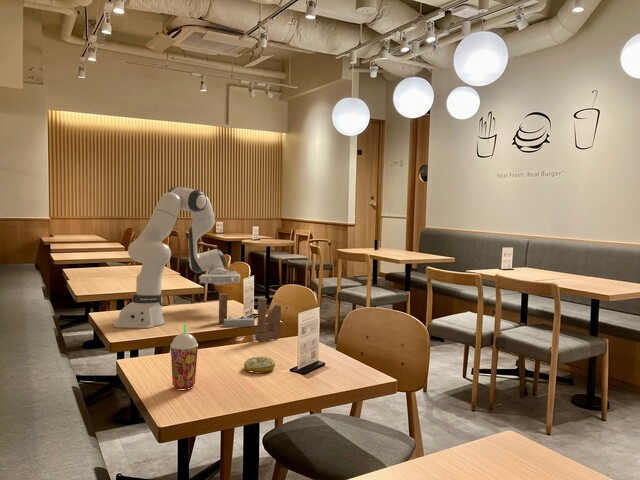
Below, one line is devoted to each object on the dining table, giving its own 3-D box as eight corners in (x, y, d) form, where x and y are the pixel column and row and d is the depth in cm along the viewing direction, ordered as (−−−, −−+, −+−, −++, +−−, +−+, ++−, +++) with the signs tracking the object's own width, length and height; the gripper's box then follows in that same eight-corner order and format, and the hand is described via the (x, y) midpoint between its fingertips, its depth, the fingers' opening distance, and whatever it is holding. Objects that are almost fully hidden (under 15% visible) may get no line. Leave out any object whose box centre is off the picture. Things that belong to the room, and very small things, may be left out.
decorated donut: (241, 366, 191) (242, 356, 190) (271, 364, 194) (271, 354, 193) (246, 375, 181) (246, 364, 180) (277, 373, 184) (277, 362, 183)
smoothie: (165, 387, 167) (165, 323, 165) (188, 381, 172) (189, 320, 171) (178, 394, 161) (179, 329, 159) (202, 388, 167) (203, 325, 165)
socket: (224, 326, 248) (224, 320, 247) (222, 322, 256) (222, 316, 256) (254, 325, 251) (254, 319, 251) (251, 321, 260) (251, 315, 259)
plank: (219, 323, 253) (219, 294, 252) (218, 322, 257) (219, 293, 256) (226, 323, 254) (227, 294, 253) (225, 321, 258) (226, 293, 257)
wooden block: (280, 338, 230) (281, 297, 229) (260, 342, 223) (261, 299, 222) (274, 336, 233) (276, 295, 232) (254, 340, 226) (255, 298, 225)
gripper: (198, 271, 276) (200, 275, 263) (238, 270, 282) (241, 274, 268) (198, 283, 277) (200, 287, 263) (238, 282, 282) (241, 286, 269)
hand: (221, 280), depth 266 cm, fingers open, 8 cm apart
